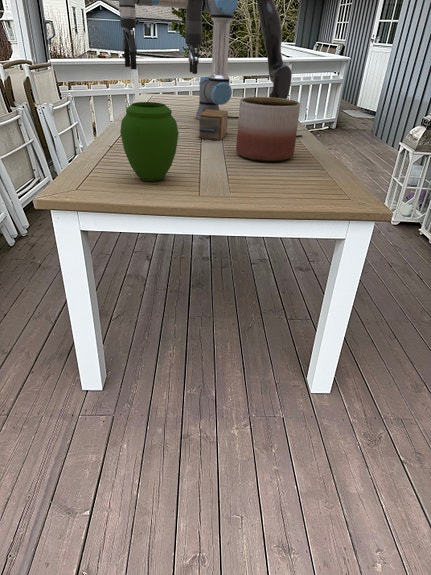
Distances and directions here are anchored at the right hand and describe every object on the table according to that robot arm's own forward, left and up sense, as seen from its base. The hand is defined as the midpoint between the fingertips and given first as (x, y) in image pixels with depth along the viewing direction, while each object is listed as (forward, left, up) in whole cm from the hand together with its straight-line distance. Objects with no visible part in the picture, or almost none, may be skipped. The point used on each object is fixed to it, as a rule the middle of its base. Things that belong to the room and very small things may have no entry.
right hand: (193, 73), depth 193 cm
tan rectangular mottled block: (-11, 0, -29) cm, 31 cm away
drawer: (-9, +4, -28) cm, 29 cm away
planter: (-24, +41, -29) cm, 55 cm away
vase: (+29, +67, -29) cm, 79 cm away
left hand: (+27, -26, -1) cm, 37 cm away
